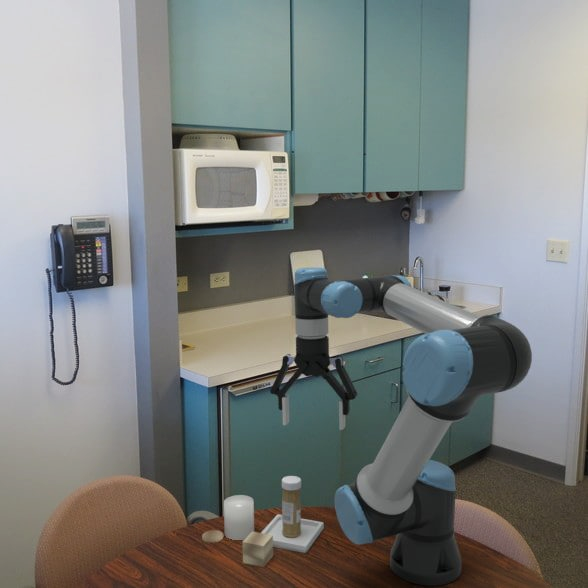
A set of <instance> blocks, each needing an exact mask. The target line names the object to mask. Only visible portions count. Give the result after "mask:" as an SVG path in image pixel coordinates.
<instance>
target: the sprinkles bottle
mask: <svg viewBox="0 0 588 588" xmlns="http://www.w3.org/2000/svg"><path fill="white" fill-rule="evenodd" d="M281 488H282V489H281V490H282V493H281V494H282V499H281V515H282V521H283V530H282V534H283V535H284V536H287V537H297V536H299V535H300V534H301V525H300V524H301V519H302V517H301V516H302V515H301V514H302V513H301V512H302V511H301V510H302V509H301V506H302V503H301V501H302V500H301V489H302V478H300V476H296V475H287V476H284V477H283V478H282V479H281Z"/></svg>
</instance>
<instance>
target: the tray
mask: <svg viewBox="0 0 588 588" xmlns="http://www.w3.org/2000/svg"><path fill="white" fill-rule="evenodd" d="M324 523H325V522H322V521H318V520H313V519H308V518H307V519H305V518H301V524H300V525H301V534H300V535H299V536H297V537H287V536H284V535H283V534H282V530H283V521H282V514H278V513H277V514H276V516H274V518H273V519H272V520H270V522H269V524H267V525H266V526H265V528H263V530H262V531H261V532H260V533H264V534H269V535H273V548H277V549H283V550H287V551H292V552H296V553H298V552H299V553H301V554H302V553H304V554H307V553H308V552H309V550H310V548H311V547H312V546H313V544H314V543H315V542H316V540H317V539H318V537H319V536H320V535H321V533H322V532H323V530H324V526H325V525H324Z"/></svg>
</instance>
